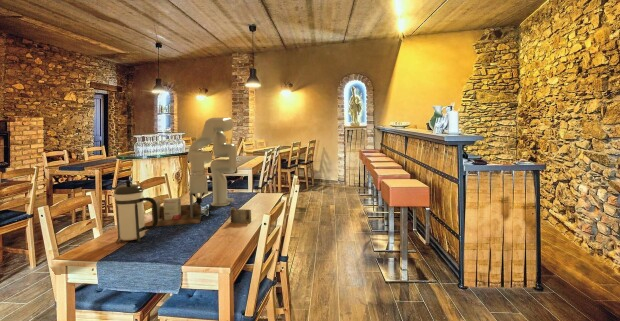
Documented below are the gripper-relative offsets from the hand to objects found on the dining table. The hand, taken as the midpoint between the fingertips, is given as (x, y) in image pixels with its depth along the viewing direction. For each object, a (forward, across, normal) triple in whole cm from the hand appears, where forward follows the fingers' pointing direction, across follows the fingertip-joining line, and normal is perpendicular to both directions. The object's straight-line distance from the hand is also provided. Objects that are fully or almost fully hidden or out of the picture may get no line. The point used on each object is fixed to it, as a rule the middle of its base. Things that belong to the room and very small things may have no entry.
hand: (199, 204), depth 210 cm
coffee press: (+9, +29, +29) cm, 42 cm away
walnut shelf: (+9, +12, 0) cm, 15 cm away
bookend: (+7, +2, 0) cm, 8 cm away
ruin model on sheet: (+10, -23, +13) cm, 28 cm away
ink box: (+8, +15, 0) cm, 17 cm away
